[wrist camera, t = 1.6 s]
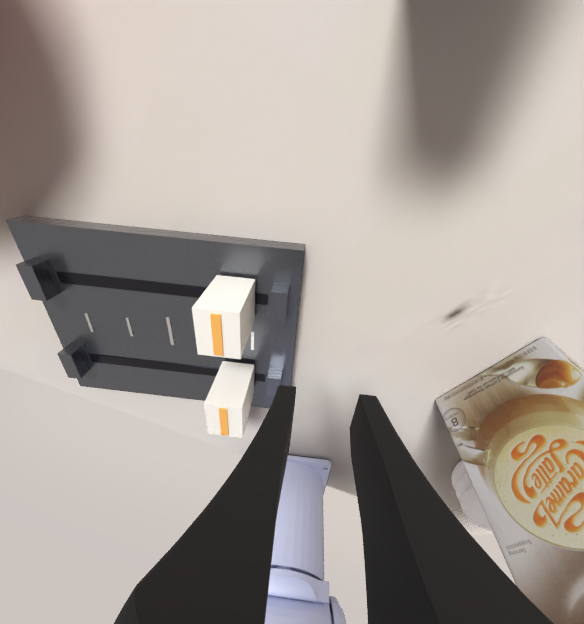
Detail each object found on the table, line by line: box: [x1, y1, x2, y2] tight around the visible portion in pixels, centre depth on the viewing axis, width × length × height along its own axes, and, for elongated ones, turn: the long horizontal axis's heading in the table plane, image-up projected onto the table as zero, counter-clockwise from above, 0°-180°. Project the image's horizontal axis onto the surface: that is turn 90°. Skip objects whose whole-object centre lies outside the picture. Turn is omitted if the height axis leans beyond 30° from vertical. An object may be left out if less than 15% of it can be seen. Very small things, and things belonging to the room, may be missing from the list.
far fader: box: [204, 361, 254, 438], centre depth 20 cm, size 3×2×4 cm
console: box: [6, 216, 305, 408], centre depth 20 cm, size 14×18×2 cm
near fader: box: [192, 275, 255, 359], centre depth 16 cm, size 3×2×4 cm
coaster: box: [451, 460, 492, 530], centre depth 26 cm, size 10×10×4 cm
